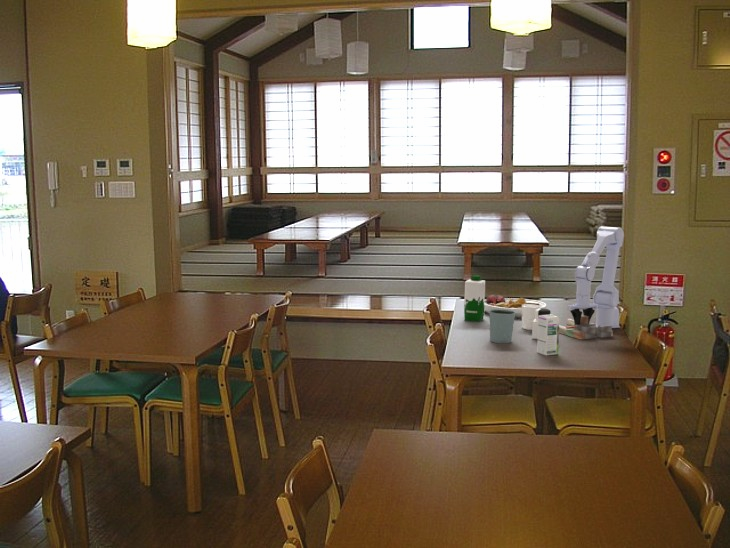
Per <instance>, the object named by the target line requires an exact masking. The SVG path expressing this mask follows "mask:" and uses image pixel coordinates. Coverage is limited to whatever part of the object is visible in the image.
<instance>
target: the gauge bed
mask: <svg viewBox="0 0 730 548" xmlns="http://www.w3.org/2000/svg"><path fill="white" fill-rule="evenodd" d="M566 325H568V326H574V318H573V319H572V318H567V319H566ZM566 327H567V326H563V325H560V324H559V334H562V335H565V336H569V337H571V338H575V339H577V340H589V339H590V340H591V339H596V336H597V338H602V339H603V338H610V337H613V332H614V330H612V329H613V328H612V326H611V325H599V326H596V327H593V326H587V327H582V330H581V331H578V330H575V329H574V328H573V329H566ZM595 330H596V333H595ZM596 334H597V335H596Z"/></svg>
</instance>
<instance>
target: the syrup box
mask: <svg viewBox="0 0 730 548" xmlns="http://www.w3.org/2000/svg"><path fill="white" fill-rule="evenodd" d="M559 325H560V316H558V315H555V314H551V313H550V315H539V316H538V339H537V342H536V343H537V346H536V347H537V348H536V352H537V353H538V354H540V355H542V356H543V355H544V356H552V355H559V346H560V345H559V343H560V342H559V339H560V338H559V335H560V333H559Z"/></svg>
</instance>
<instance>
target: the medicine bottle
mask: <svg viewBox="0 0 730 548" xmlns="http://www.w3.org/2000/svg"><path fill="white" fill-rule="evenodd" d="M550 314H551V310H550V309H548V308H546V309H544V308H539V309H536V310H535V320H534V321H533V325H532V331H531V334H532V335H531V339H532V340H533V339H534V340H538V316H539V315H550Z"/></svg>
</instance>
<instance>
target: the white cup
mask: <svg viewBox="0 0 730 548" xmlns="http://www.w3.org/2000/svg"><path fill="white" fill-rule="evenodd" d="M539 308H540V306H539V305H534V304H524V305H522V318H521V325H522V326H521V328H522V329H523V330H530V331H531V330H532V325H533V321H534V320H535V310H536V309H539Z"/></svg>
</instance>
